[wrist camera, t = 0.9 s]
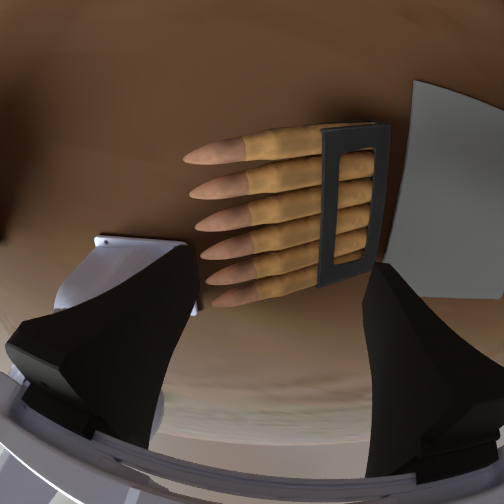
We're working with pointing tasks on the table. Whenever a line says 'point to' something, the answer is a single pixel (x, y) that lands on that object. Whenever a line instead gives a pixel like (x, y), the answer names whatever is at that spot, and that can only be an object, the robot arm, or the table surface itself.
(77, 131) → the table surface
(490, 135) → the mat
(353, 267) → the ammunition clip
